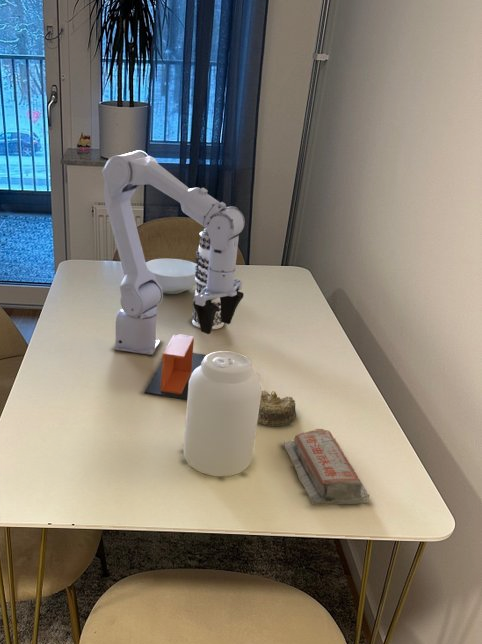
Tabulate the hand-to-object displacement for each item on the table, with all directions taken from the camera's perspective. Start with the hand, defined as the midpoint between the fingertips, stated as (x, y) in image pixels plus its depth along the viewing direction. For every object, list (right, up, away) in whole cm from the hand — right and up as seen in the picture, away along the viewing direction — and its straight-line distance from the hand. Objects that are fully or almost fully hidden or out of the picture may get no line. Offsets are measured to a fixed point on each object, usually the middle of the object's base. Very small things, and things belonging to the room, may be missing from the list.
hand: (215, 327), depth 144 cm
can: (-3, -28, -25) cm, 38 cm away
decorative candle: (+1, +5, +28) cm, 28 cm away
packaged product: (+16, -30, -28) cm, 44 cm away
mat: (-4, -11, +2) cm, 12 cm away
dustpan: (-8, -11, +1) cm, 13 cm away
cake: (+10, -19, -11) cm, 25 cm away
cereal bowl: (-8, +18, +48) cm, 52 cm away
